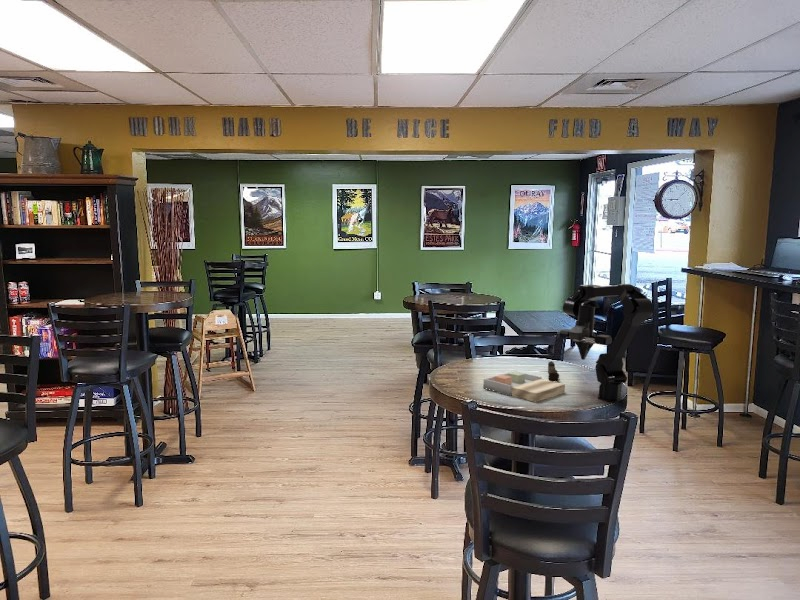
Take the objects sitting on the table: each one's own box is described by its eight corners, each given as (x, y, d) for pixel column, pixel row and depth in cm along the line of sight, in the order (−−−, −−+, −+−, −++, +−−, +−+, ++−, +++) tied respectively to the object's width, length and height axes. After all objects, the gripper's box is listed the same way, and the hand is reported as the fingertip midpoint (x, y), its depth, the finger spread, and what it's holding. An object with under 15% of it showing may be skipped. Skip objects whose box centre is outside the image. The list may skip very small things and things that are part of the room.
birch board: (564, 392, 205) (565, 384, 205) (535, 402, 192) (536, 393, 192) (540, 386, 212) (541, 378, 212) (511, 395, 199) (511, 387, 199)
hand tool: (558, 382, 220) (559, 371, 219) (548, 381, 221) (548, 370, 220) (556, 371, 238) (557, 361, 238) (547, 370, 239) (547, 360, 239)
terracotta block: (501, 374, 211) (501, 382, 211) (494, 376, 207) (494, 384, 208) (511, 376, 208) (511, 384, 208) (505, 378, 204) (504, 386, 205)
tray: (541, 386, 213) (541, 377, 212) (510, 395, 199) (510, 386, 199) (514, 379, 221) (514, 371, 221) (483, 388, 208) (483, 379, 207)
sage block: (515, 371, 216) (514, 379, 217) (508, 373, 213) (508, 380, 213) (525, 373, 213) (524, 381, 213) (518, 375, 210) (518, 383, 210)
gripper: (552, 317, 210) (549, 358, 212) (600, 323, 197) (596, 367, 199) (567, 314, 218) (564, 354, 220) (614, 320, 205) (610, 362, 207)
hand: (583, 359), depth 211 cm, fingers closed
